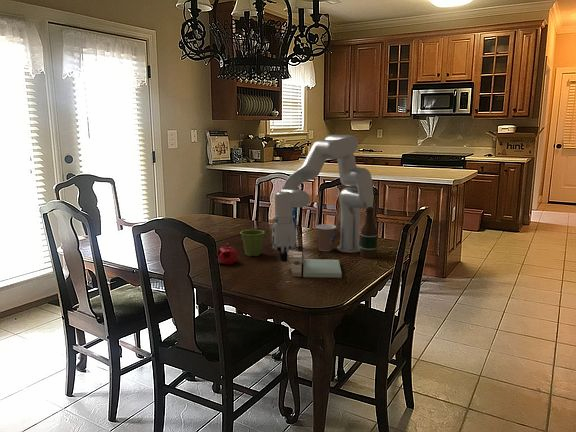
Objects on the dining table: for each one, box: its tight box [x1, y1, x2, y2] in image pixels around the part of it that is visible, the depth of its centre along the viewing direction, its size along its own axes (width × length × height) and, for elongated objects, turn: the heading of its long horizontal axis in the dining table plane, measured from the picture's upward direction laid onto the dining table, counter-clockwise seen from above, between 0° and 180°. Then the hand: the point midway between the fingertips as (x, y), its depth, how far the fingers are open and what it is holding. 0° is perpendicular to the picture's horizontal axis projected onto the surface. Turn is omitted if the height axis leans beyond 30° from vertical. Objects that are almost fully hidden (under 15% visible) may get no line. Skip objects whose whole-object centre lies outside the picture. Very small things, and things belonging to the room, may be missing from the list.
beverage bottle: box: [283, 207, 298, 250], centre depth 243 cm, size 8×8×20 cm
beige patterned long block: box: [291, 251, 303, 277], centre depth 207 cm, size 20×4×6 cm, turn 177°
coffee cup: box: [315, 223, 337, 252], centre depth 240 cm, size 10×10×12 cm
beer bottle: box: [359, 206, 378, 260], centre depth 226 cm, size 8×8×24 cm
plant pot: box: [239, 229, 265, 257], centre depth 230 cm, size 12×12×11 cm
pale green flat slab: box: [302, 258, 343, 279], centre depth 207 cm, size 20×16×2 cm
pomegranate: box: [216, 243, 239, 266], centre depth 217 cm, size 10×10×9 cm
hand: (283, 260), depth 208 cm, fingers closed
